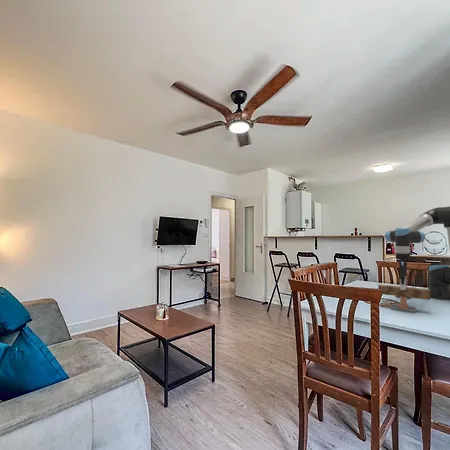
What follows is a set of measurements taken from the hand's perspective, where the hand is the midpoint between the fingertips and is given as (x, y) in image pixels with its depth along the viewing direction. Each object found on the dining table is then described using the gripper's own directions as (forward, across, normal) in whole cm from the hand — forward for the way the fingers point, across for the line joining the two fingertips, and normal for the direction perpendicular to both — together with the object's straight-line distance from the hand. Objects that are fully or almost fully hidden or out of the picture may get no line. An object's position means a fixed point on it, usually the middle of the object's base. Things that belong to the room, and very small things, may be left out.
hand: (403, 287), depth 163 cm
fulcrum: (+13, 0, 0) cm, 13 cm away
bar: (+5, 0, 0) cm, 5 cm away
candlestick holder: (+13, -36, -1) cm, 38 cm away
